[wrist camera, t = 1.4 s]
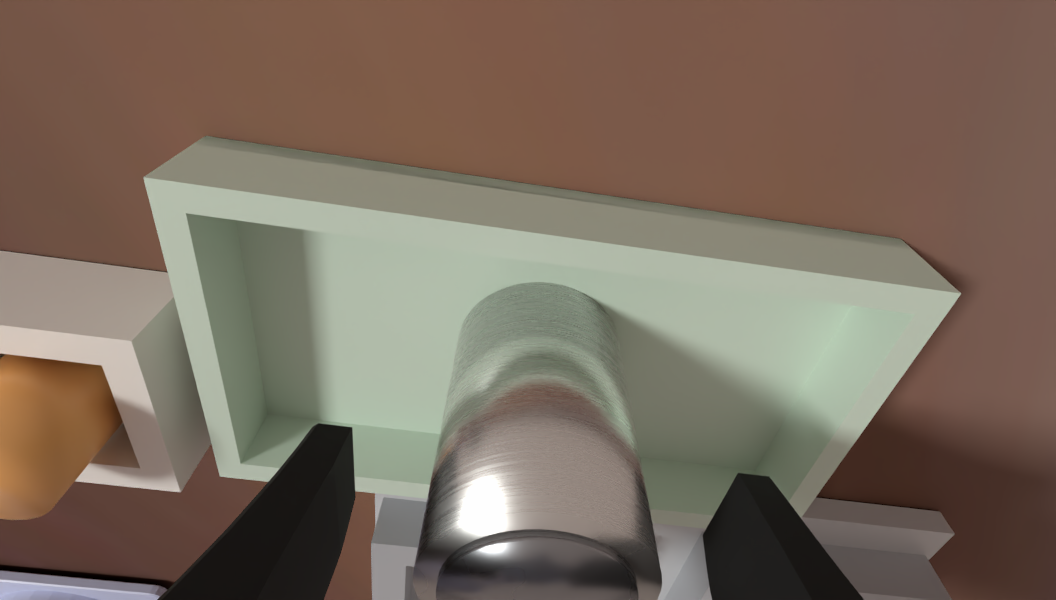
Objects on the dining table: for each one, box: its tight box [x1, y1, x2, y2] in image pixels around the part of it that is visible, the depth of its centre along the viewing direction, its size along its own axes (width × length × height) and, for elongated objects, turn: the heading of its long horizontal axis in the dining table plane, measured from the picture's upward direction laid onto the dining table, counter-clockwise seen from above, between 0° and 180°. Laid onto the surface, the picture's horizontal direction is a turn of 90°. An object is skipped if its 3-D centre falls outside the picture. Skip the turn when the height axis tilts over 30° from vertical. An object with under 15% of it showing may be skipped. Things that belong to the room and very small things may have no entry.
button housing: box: [0, 251, 211, 492], centre depth 14 cm, size 5×5×2 cm
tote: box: [143, 136, 961, 529], centre depth 13 cm, size 8×15×2 cm, turn 82°
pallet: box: [371, 493, 955, 600], centre depth 19 cm, size 10×18×2 cm, turn 82°
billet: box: [413, 282, 662, 600], centre depth 11 cm, size 4×4×6 cm
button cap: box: [0, 354, 123, 520], centre depth 12 cm, size 3×3×3 cm
